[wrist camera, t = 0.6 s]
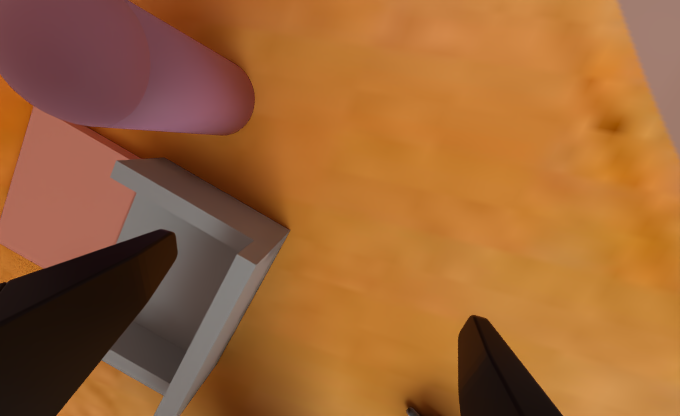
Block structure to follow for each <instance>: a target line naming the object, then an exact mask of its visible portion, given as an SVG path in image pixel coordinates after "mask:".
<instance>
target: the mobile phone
mask: <svg viewBox="0 0 680 416" xmlns="http://www.w3.org/2000/svg"><path fill="white" fill-rule="evenodd" d="M406 411H407V414H408V415H409V416H420V415H419V414H418V413H417V412H416V411H415V410H414V409H413V408H412V407H409V408H408V409H407V410H406Z"/></svg>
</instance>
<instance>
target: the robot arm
mask: <svg viewBox="0 0 680 416" xmlns="http://www.w3.org/2000/svg"><path fill="white" fill-rule="evenodd" d="M177 255H178V249H177V240H176V235H175V233H174V232H172V231H168V230H165V229H158V230H155V231H152V232H149V233H146V234H143V235H141V236H138V237H135V238H132V239H129V240H126V241H123V242H120V243H117V244H114V245H111V246H109V247H106V248H103V249H100V250H97V251H94V252H91V253H88V254H85V255H82V256H79V257H77V258H74V259H71V260H68V261H65V262H62V263H59V264H56V265H53V266H50V267H47V268H44V269H42V270H39V271H36V272H33V273H30V274H27V275H24V276H21V277H18V278H15V279H12V280H10V281H8V282H7V283H6V282H3V283H1V284H0V416H56V415H57V414H58V413H59V412H60V410H61V409H62V408H63V407H64V405H65V404H66V403H67V402H68V400H69V399H70V398H71V397H72V396H73V394H74V393H75V392H76V391H77V389H78V388H79V387H80V386H81V384H82V383H83V382H84V381H85V379H86V378H87V377H88V376H89V375H90V373H91V372H92V371H93V370H94V368H95V367H96V366H97V365H98V363H99V362H100V361H101V360H102V359H103V357H104V356H105V355H106V354H107V352H108V351H109V350H110V349H111V347H112V346H113V345H114V344H115V343H116V341H117V340H118V339H119V338H120V336H121V335H122V334H123V333H124V331H125V330H126V329H127V328H128V327H129V325H130V324H131V323H132V322H133V320H134V319H135V318H136V317H137V315H138V314H139V313H140V312H141V310H142V309H143V308H144V307H145V305H146V304H147V303H148V301H149V300H150V299H151V297H152V296H153V294H154V293H155V291H156V290H157V288H158V286H159V285H160V283H161V282H162V280H163V279H164V277H165V276H166V274H167V273H168V271H169V270H170V268H171V267H172V265H173V264H174V262H175V260H176V258H177ZM458 392H459V404H460V413H461V416H563V415H562V414H561V412H560V411H559V410H558V409H557V407H556V406H555V405H554V404H553V402H552V401H551V400H550V398H549V397H548V396H547V395H546V393H545V392H544V391H543V389H542V388H541V387H540V386H539V384H538V383H537V382H536V381H535V379H534V378H533V377H532V375H531V374H530V373H529V372H528V370H527V369H526V368H525V366H524V365H523V364H522V363H521V361H520V360H519V359H518V358H517V356H516V355H515V354H514V352H513V351H512V350H511V349H510V347H509V346H508V345H507V343H506V342H505V341H504V340H503V338H502V337H501V336H500V335H499V333H498V332H497V331H496V329H495V328H494V327H493V326H492V324H491V323H490V322H489V321H488V320H487V319H486V318H484V317H480V316H476V315H471V316H470V317H469V318H468V320H467V321H466V323H465V325H464V326H463V328H462V329H461V331H460V333H459V336H458Z"/></svg>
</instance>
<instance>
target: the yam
mask: <svg viewBox="0 0 680 416" xmlns="http://www.w3.org/2000/svg"><path fill="white" fill-rule="evenodd" d="M0 74H1V76H2V77H3V78H4V79H5V81H6V82H7V83H8V84H9V85H10V86H11V87H12V88H13V89H14V91H16V92H17V93H18V94H19V95H20V96H22V97H23V98H24V99H25V100H26V101H27V102H29V103H30V104H32V105H33V106H35V107H37V108H38V109H40V110H41V111H43V112H45V113H47V114H49V115H51V116H54V117H56V118H58V119H61V120H64V121H67V122H70V123H74V124H79V125H84V126H92V127H107V128H121V129H136V130H151V131H165V132H180V133H195V134H209V135H229V134H233V133H235V132H237V131H239V130H240V129H241V128H243V127H244V126H245V125H246V124H247V122H248V121H249V119H250V117H251V115H252V113H253V109H254V103H255V96H254V90H253V86H252V84H251V81H250V79H249V78H248V76H247V75H246V73H245V72H244V71H243V70H242V69H241V68H240V67H239V66H237V65H236V64H234V63H233V62H231V61H229V60H228V59H226V58H224V57H222V56H221V55H219V54H217V53H216V52H214V51H212V50H211V49H209V48H207V47H206V46H204V45H202V44H201V43H199V42H197V41H195V40H194V39H192V38H190V37H189V36H187V35H185V34H184V33H182V32H180V31H179V30H177V29H175V28H174V27H172V26H170V25H168V24H167V23H165V22H163V21H162V20H160V19H158V18H157V17H155V16H153V15H152V14H150V13H148V12H147V11H145V10H143V9H141V8H140V7H138V6H136V5H135V4H133V3H131V2H130V1H128V0H0Z"/></svg>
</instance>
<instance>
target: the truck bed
mask: <svg viewBox="0 0 680 416" xmlns="http://www.w3.org/2000/svg"><path fill="white" fill-rule="evenodd" d="M158 229H165V230H168V231H172V232H174V233H175V235H176V240H177V249H178V255H177V258H176V260H175V262H174V264H173V265H172V267H171V268H170V270H169V271H168V273H167V274H166V276H165V277H164V279H163V280H162V282H161V283H160V285H159V286H158V288H157V290H156V291H155V293H154V294H153V296H152V297H151V299H150V300H149V301H148V303H147V304H146V305H145V307H144V308H143V309H142V310H141V312H140V313H139V314H138V315H137V317H136V318H135V319H134V320H133V322H132V323H131V324H130V325H129V327H128V328H127V329H126V330H125V331H124V333H123V334H122V335H121V336H120V338H119V339H118V340H117V341H116V343H115V344H114V345H113V346H112V347H111V349H110V350H109V351H108V352H107V354H106V355H105V356H104V357H103V359H102V361H104V362H106V363H107V364H109V365H111V366H113V367H114V368H116V369H118V370H120V371H121V372H123V373H125V374H127V375H128V376H130V377H132V378H134V379H135V380H137V381H139V382H141V383H142V384H144V385H146V386H148V387H149V388H151V389H153V390H155V391H156V392H158V393H160V394H162V395H163V396H164V397H163V399H162V401H161V403H160V405H159V407H158V408H157V410H156V412H155V414H154V416H180V415H181V413H182V412H183V410H184V409H185V408H186V406H187V405H188V403H189V402H190V401H191V399H192V398H193V397H194V395H195V394H196V392H197V391H198V390H199V388H200V387H201V385H202V384H203V383H204V381H205V380H206V378H207V377H208V376H209V374H210V373H211V371H212V370H213V369H214V367H215V366H216V364H217V362H218V361H219V359H220V357H221V355H222V353H223V352H224V350H225V348H226V346H227V344H228V342H229V341H230V339H231V337H232V335H233V333H234V332H235V330H236V328H237V326H238V324H239V323H240V321H241V319H242V317H243V315H244V313H245V312H246V310H247V308H248V306H249V304H250V303H251V301H252V299H253V297H254V295H255V293H256V292H257V290H258V288H259V286H260V284H261V283H262V281H263V279H264V277H265V275H266V274H267V272H268V270H269V268H270V266H271V264H272V263H273V261H274V259H275V257H276V255H277V254H278V252H279V250H280V248H281V246H282V244H283V243H284V241H285V239H286V237H287V235H288V234H289V232H290V230H289V229H287V228H285V227H283V226H282V225H280V224H278V223H276V222H275V221H273V220H271V219H270V218H268V217H266V216H264V215H263V214H261V213H259V212H257V211H256V210H254V209H252V208H251V207H249V206H247V205H245V204H244V203H242V202H240V201H238V200H237V199H235V198H233V197H232V196H230V195H228V194H226V193H225V192H223V191H221V190H219V189H218V188H216V187H214V186H213V185H211V184H209V183H207V182H206V181H204V180H202V179H200V178H199V177H197V176H195V175H193V174H192V173H190V172H188V171H187V170H185V169H183V168H181V167H180V166H178V165H176V164H174V163H173V162H171V161H169V160H168V159H166V158H150V159H141V158H139V157H138V156H136V155H134V154H133V153H131V152H129V151H127V150H126V149H124V148H122V147H120V146H119V145H117V144H115V143H114V142H112V141H110V140H108V139H107V138H105V137H103V136H101V135H100V134H98V133H96V132H94V131H93V130H91V129H89V128H88V127H86V126H84V125H79V124H74V123H70V122H67V121H64V120H61V119H58V118H56V117H54V116H51V115H49V114H47V113H45V112H43V111H41V110H40V109H38V108H37V107H35V106H34V107H33V110H32V114H31V117H30V121H29V124H28V127H27V131H26V134H25V137H24V141H23V144H22V148H21V151H20V154H19V158H18V161H17V165H16V168H15V171H14V175H13V178H12V181H11V185H10V188H9V192H8V195H7V198H6V202H5V205H4V209H3V212H2V215H1V219H0V244H2V245H4V246H5V247H7V248H9V249H11V250H12V251H14V252H16V253H18V254H19V255H21V256H23V257H24V258H26V259H28V260H30V261H31V262H33V263H35V264H37V265H38V266H40V267H42V268H47V267H50V266H53V265H56V264H59V263H62V262H65V261H68V260H71V259H74V258H77V257H79V256H82V255H85V254H88V253H91V252H94V251H97V250H100V249H103V248H106V247H109V246H111V245H114V244H117V243H120V242H123V241H126V240H129V239H132V238H135V237H138V236H141V235H143V234H146V233H149V232H152V231H155V230H158Z"/></svg>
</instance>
